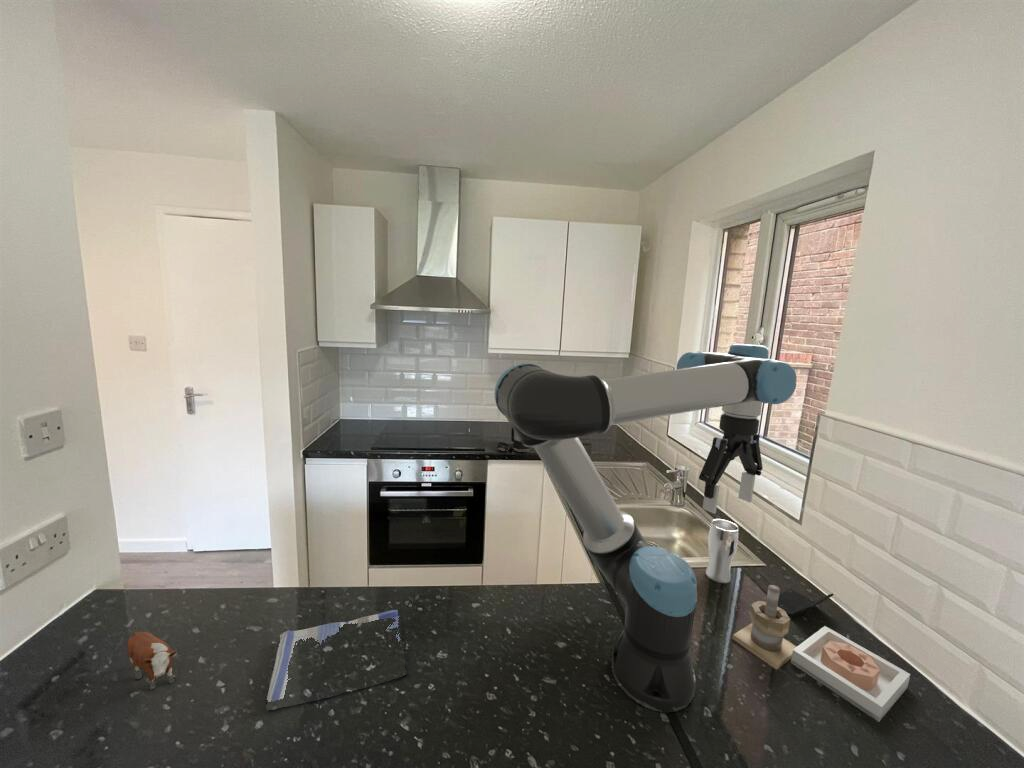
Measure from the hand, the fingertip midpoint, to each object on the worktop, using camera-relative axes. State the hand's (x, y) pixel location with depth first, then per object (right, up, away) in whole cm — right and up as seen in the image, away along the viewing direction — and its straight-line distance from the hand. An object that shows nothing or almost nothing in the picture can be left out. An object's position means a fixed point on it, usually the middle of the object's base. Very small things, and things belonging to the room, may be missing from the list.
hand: (727, 505), depth 92 cm
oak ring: (+5, -23, -7) cm, 25 cm away
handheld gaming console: (+21, -27, +6) cm, 35 cm away
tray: (+17, -30, -13) cm, 36 cm away
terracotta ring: (+17, -29, -13) cm, 36 cm away
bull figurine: (-113, -25, -21) cm, 117 cm away
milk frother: (-48, -7, +117) cm, 127 cm away
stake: (+5, -28, -6) cm, 29 cm away
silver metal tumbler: (+7, -25, +18) cm, 31 cm away
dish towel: (-82, -26, -14) cm, 87 cm away
